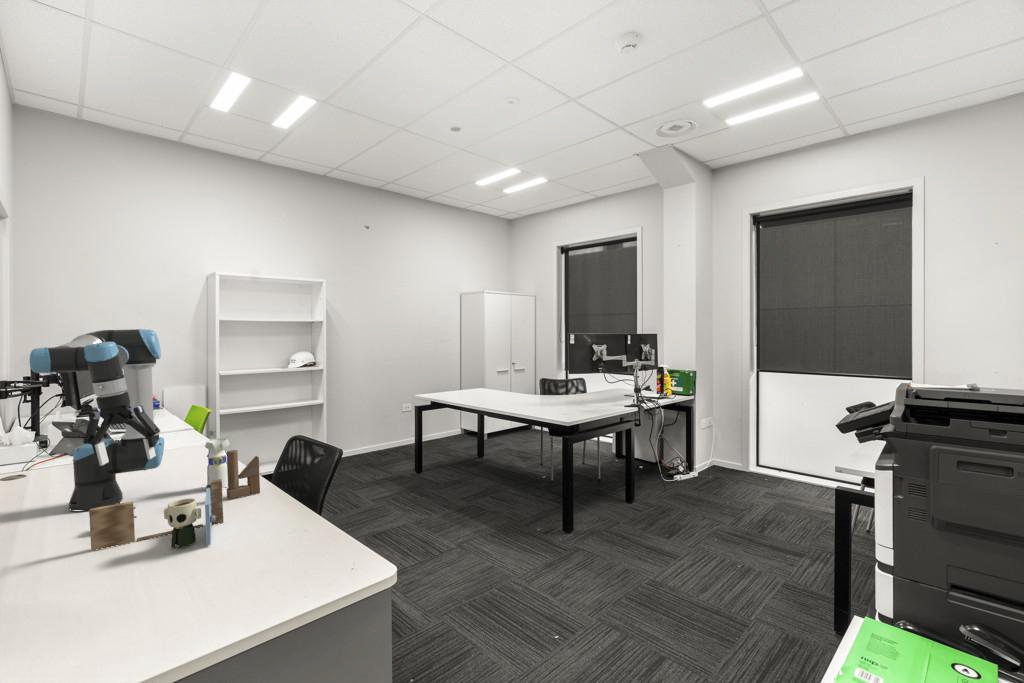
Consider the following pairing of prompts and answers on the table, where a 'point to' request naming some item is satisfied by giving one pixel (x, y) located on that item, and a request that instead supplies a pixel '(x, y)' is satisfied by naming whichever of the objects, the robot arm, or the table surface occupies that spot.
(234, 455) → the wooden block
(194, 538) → the character mug
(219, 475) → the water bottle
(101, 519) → the door frame
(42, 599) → the table surface
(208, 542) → the door
